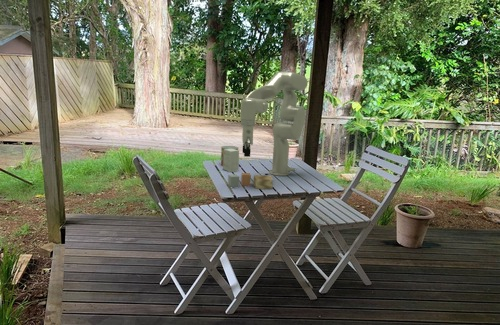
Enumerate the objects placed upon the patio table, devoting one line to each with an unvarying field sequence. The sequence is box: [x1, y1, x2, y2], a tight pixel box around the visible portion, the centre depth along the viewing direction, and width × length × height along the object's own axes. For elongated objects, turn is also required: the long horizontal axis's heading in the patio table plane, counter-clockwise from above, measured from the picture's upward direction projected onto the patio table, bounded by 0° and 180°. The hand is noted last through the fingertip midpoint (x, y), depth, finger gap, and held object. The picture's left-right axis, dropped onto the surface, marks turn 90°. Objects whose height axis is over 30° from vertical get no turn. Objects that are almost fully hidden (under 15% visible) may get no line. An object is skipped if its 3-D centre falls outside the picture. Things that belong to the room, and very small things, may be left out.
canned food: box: [220, 145, 239, 167], centre depth 246 cm, size 11×11×12 cm
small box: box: [222, 149, 240, 173], centre depth 233 cm, size 8×6×13 cm
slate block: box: [227, 174, 240, 188], centre depth 198 cm, size 4×4×6 cm
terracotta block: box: [240, 172, 252, 187], centre depth 203 cm, size 4×4×6 cm
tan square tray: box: [253, 174, 274, 190], centre depth 201 cm, size 9×9×5 cm
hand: (246, 154), depth 200 cm, fingers open, 9 cm apart
